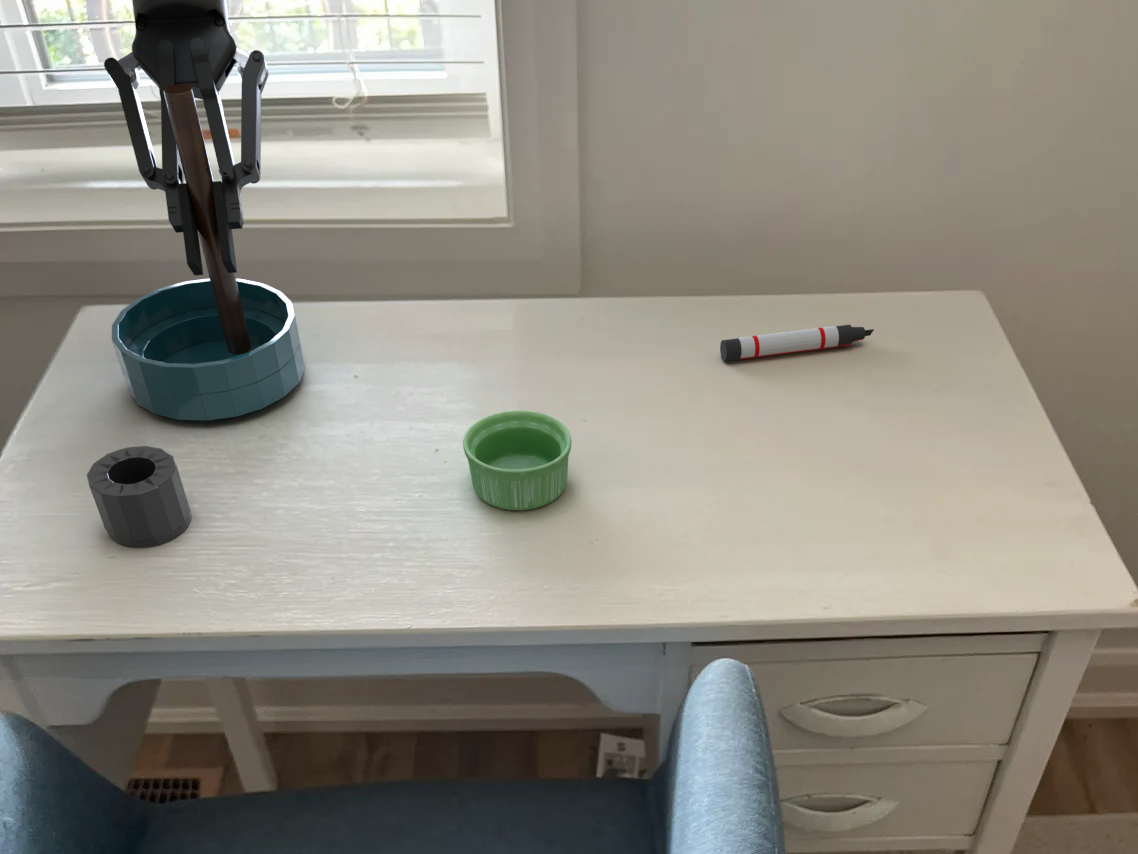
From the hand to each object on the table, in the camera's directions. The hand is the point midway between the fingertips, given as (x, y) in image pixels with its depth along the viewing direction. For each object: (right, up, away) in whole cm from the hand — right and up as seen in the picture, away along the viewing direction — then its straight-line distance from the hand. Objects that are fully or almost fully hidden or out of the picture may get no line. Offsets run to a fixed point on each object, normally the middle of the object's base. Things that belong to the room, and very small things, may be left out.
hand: (212, 267), depth 101 cm
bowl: (-3, -6, +12) cm, 14 cm away
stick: (-1, -3, +10) cm, 10 cm away
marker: (+52, -2, +15) cm, 55 cm away
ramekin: (+26, -18, +1) cm, 32 cm away
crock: (-4, -22, -3) cm, 23 cm away
